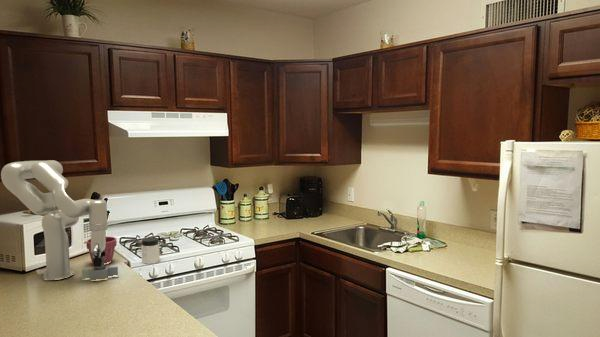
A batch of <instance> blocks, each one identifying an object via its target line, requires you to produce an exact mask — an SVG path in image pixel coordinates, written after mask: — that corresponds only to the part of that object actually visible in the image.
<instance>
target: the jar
mask: <svg viewBox="0 0 600 337" xmlns="http://www.w3.org/2000/svg"><path fill="white" fill-rule="evenodd" d="M140 247H141V249H140V250H141V263H142V264H144V265H145V264H146V265H151V264H157V263H158V262H159V261H160V259H161V257H160V243H159V238H158V237H147V238H143V239H142V240H141V246H140Z"/></svg>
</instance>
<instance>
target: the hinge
mask: <svg viewBox="0 0 600 337" xmlns="http://www.w3.org/2000/svg"><path fill="white" fill-rule="evenodd" d="M110 265H111V264H109V265H106V266H104V269H102V270H97V267H94V266H93V267H92V268H83V269H81V278H82V279H85V278H90V279H91V280H96V279H105V278H108V276H113V275H118V276H119V267H118V266H110ZM91 280H90V281H91Z"/></svg>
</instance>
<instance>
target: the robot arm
mask: <svg viewBox="0 0 600 337" xmlns="http://www.w3.org/2000/svg"><path fill="white" fill-rule="evenodd" d="M63 168H64V167H63V165H62V164H61V163H60V162H59V161H57V160H53V159H52V160H51V159H50V160H49V159H48V160H24V161H14V162H10V163H7V164H5V165H4V166H3V167H2V169H1V171H0V179H1V182H2V184H3V186H5V188H6V189H7V190H8V191H9V192H11V194H13V195H14V196H15V197H17V198H18V200H19V201H20V202H21V203H22V204H23V205H24V206H25V207H26V208H27V209H29V210H30V211H31V213H32V214H34V215H37V216H38V215H40V216H42V215H43V216H42V218H41V228H42V230H43V235H44V248H45V250H44V251H45V266H46V267H45V268H44V269H36V271H35V272H36V275H38V276H39V275H43V276H42V279H43V278H44V279H47V280H55V279H61V278H65V277H68V276H71V275H72V274H73V273H74V271H73V270H71V267H70V261H71V260H70V243H69V242H70V240H69V235H68V233H67V232H66V229H67V228H70V227H74V226H75V225H76V224H77V223H79V221H80V218H81V217H83V216H87V215H88V227H89V232H90V233H91V234H90V239H91V253H93V252H94V256H93V264H94V266H93V267H99V266H101V265H102V264H101V256H105V252H104V251H105V247H106V237H107V236H106V231H108V228H109V227H108V207H107V206H108V204H107V201H106V200H104V199H91V198H83V199H78V200H77V199H76V200H73V199H72V198H71V196H69V195H68V194H67V193H66V188H68V186H69V180H68V179H67V178H66V177H64V176H63V175H62V174H63V172H64V169H63ZM28 179H36V180H37V181H38V182H39V183H40V184H42V186H43V187H45V188H46V189H47V190H48V191H49V192H45V193H44V192H42V191H41V190H40V189H38V188H37V187H36V186H35V185H34V184H32V183H31V182H28V181H27V180H28ZM93 264H92V265H93ZM71 273H72V274H71ZM74 274H75V273H74Z"/></svg>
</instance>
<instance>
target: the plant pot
mask: <svg viewBox="0 0 600 337" xmlns="http://www.w3.org/2000/svg"><path fill="white" fill-rule="evenodd" d="M117 243H118V242H117V238H116V237H113V236H106V247H105V251H104V252H105V256H106V259H105V260H104V263H107V262H110V261H112V262H113V257H114V253H115V248H116V247H117ZM85 244H86V249H87V250H88V251H89V257H90V260H91V264H92V263H93V256H94V252H93V253H91V238H89V239H87V240H86V242H85Z"/></svg>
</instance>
